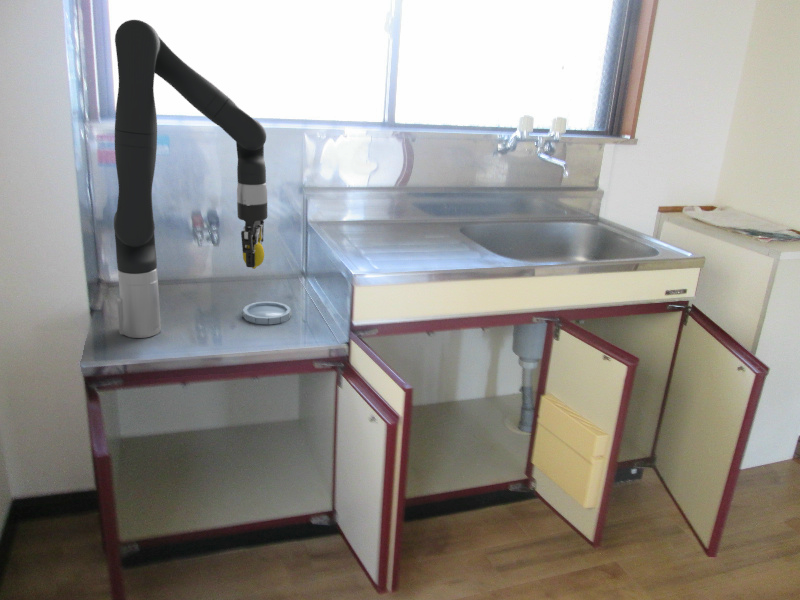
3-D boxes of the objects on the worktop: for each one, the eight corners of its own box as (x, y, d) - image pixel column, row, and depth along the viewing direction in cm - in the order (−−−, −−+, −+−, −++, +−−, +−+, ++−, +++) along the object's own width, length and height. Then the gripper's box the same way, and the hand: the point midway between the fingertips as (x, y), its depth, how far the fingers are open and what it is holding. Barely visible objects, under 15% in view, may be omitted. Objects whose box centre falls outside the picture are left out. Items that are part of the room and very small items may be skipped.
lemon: (238, 269, 175) (237, 239, 172) (252, 264, 180) (252, 235, 177) (255, 273, 173) (254, 243, 170) (268, 268, 177) (268, 239, 174)
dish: (238, 322, 183) (238, 316, 182) (249, 305, 195) (249, 300, 195) (285, 325, 183) (285, 319, 182) (293, 309, 195) (294, 303, 195)
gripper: (245, 193, 177) (246, 254, 182) (229, 205, 163) (231, 270, 169) (273, 195, 176) (273, 256, 182) (260, 207, 163) (261, 272, 169)
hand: (253, 263), depth 176 cm, fingers closed on lemon, 5 cm apart
